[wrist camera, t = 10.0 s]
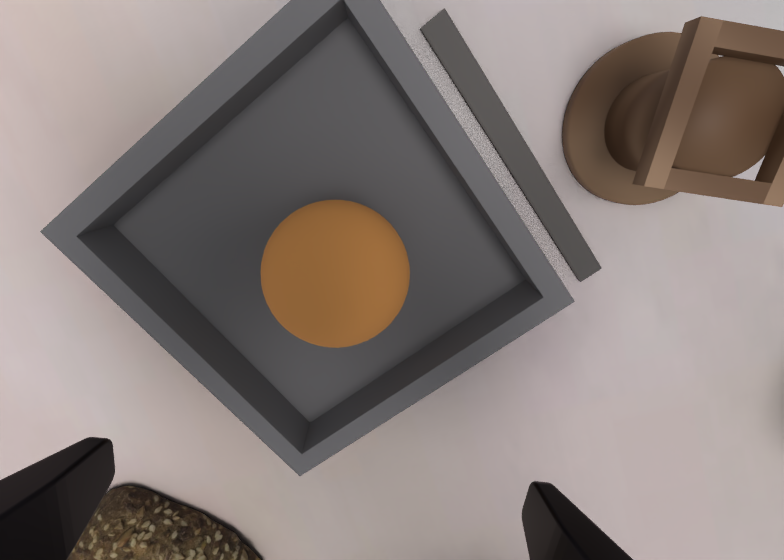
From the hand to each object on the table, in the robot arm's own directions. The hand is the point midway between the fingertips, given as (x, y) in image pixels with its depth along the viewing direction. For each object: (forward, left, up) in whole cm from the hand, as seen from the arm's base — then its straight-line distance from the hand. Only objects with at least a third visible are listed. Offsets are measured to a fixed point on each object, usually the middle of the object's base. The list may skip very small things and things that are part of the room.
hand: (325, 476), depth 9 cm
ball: (-1, +1, -11) cm, 11 cm away
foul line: (+10, 0, -13) cm, 16 cm away
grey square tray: (0, +2, -13) cm, 13 cm away
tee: (+15, -2, -13) cm, 20 cm away
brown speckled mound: (-23, -8, -13) cm, 28 cm away
